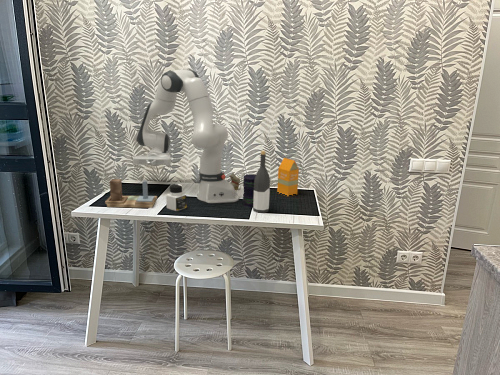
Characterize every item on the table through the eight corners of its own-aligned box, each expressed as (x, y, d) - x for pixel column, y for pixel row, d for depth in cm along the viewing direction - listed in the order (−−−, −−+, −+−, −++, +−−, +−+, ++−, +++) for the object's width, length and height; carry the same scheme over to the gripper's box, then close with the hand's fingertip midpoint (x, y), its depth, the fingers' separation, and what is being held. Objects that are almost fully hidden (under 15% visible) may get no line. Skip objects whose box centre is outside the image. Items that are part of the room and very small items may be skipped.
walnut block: (122, 199, 208) (121, 179, 205) (120, 202, 204) (118, 181, 201) (113, 199, 208) (112, 178, 205) (111, 202, 204) (109, 181, 201)
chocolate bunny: (238, 191, 233) (238, 174, 230) (224, 190, 235) (224, 173, 232) (240, 188, 238) (240, 172, 235) (227, 187, 240) (227, 171, 237)
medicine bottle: (176, 211, 198) (175, 187, 195) (166, 208, 203) (165, 185, 199) (186, 207, 204) (186, 184, 201) (176, 204, 208) (176, 182, 205)
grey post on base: (154, 197, 210) (153, 179, 207) (151, 201, 203) (151, 183, 200) (139, 196, 209) (138, 178, 207) (136, 201, 202) (135, 183, 199)
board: (158, 198, 216) (157, 194, 215) (153, 207, 203) (152, 202, 202) (113, 198, 215) (112, 193, 214) (105, 207, 201) (104, 201, 201)
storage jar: (262, 207, 207) (263, 179, 203) (242, 207, 207) (243, 178, 203) (261, 201, 217) (262, 174, 213) (242, 201, 217) (243, 173, 212)
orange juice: (287, 196, 227) (289, 161, 221) (276, 192, 233) (278, 158, 227) (297, 194, 231) (299, 159, 226) (286, 190, 238) (288, 156, 232)
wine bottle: (257, 206, 209) (259, 148, 200) (271, 209, 205) (274, 150, 196) (249, 211, 202) (251, 151, 194) (264, 214, 198) (266, 153, 190)
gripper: (135, 152, 227) (129, 157, 214) (172, 153, 228) (168, 158, 215) (135, 163, 229) (130, 169, 216) (172, 164, 230) (169, 170, 217)
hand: (149, 163), depth 215 cm, fingers closed
